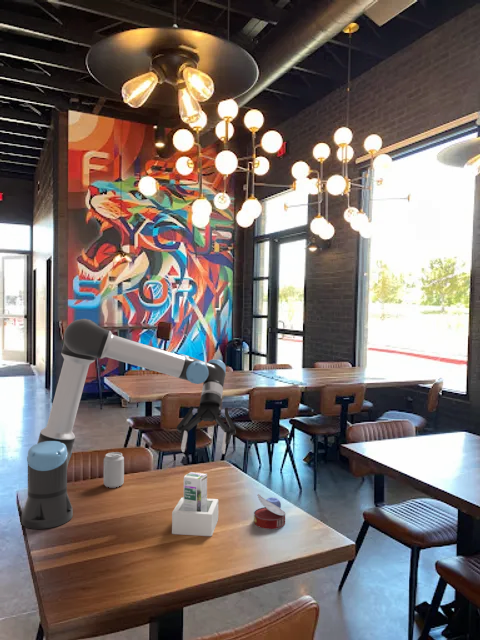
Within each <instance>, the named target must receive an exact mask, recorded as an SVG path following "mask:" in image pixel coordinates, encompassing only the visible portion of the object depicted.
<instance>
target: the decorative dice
mask: <svg viewBox="0 0 480 640" xmlns="http://www.w3.org/2000/svg"><path fill="white" fill-rule="evenodd" d="M266 500H267V501H269V502H271V503H272V504H274V505H276V506H277V507H279V508H280V509H282V508H281V507H282V503H281V501H280V500H279V498H277V497H275V496H274V497H268V498H266Z"/></svg>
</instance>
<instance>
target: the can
mask: <svg viewBox="0 0 480 640" xmlns="http://www.w3.org/2000/svg"><path fill="white" fill-rule="evenodd" d="M124 478H125V457H124V456H123V453H122V452H119V451H115V452H114V451H113V452H108V453H106V454H105V457H103V485H104V486H105V487H106V488H108V487H109V489H116V487H117V488H119V486H120V487H121V486H122V485H123V484H124V483H125V481H124V480H125V479H124Z"/></svg>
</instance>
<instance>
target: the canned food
mask: <svg viewBox="0 0 480 640" xmlns="http://www.w3.org/2000/svg"><path fill="white" fill-rule="evenodd" d="M257 498H258V500H259V502H260V503H261V505H262V506H263V507H261V508H257V509H255V511H254V512H253V514H254V515H253V516H254V517H253V518H254V519H253V521H254V525H256V526H257V527H258V528H261V529H265V530H277V529H280V528H283V527H284V526H285V525H286V512H285V511H284V510H283V509H282V508H279V507H277V506H276V505H274V504H272V503H271V502H269V501H267V498H266V499H265V498H264V497H263V496H261V494H259V493H258V494H257Z"/></svg>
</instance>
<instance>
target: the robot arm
mask: <svg viewBox="0 0 480 640" xmlns="http://www.w3.org/2000/svg"><path fill="white" fill-rule="evenodd" d="M61 348H62V349H61V353H60V355H61V356H62V358H63V363H62V367H61V370H60V374H59V378H58V381H57V382H58V383H57V385H56V389H55V394H54V397H53V401H52V404H51V409H50V413H49V417H48V420H47V424H46V427H44V428H42V429H40V433H39V436H38V440H37V443H36V444H33V445H32V446H30V448H29V449H28V452H27V456H26V461H27V498H26V502H25V505H24V508H23V511H22V513H21V525H22V526H23V527H25V528H28V529H33V530H34V529H35V530H44V529H51V528H55V527H59V526H62V525H64V524H66V523H68V522H69V521H71V520H72V518H73V511H74V509H73V505H72V504H71V501H70V498H69V497H70V496H69V495H68V465H69V462H70V460H71V457H72V454H73V447H74V443H75V439H76V435H75V433H74V432H73V429H74V426H75V422H76V417H77V414H78V410H79V406H80V402H81V399H82V394H83V392H84V391H83V390H84V386H85V383H86V379H87V376H88V371H89V367H90V365H91V364H93V363H94V362H95V361H96V358H97V359H101V360H102V359H104V358H109V359H111V360H112V359H113V360H116V361H118V362H122V363H126V364H129V365H132V366H136V367H140V368H144V369H147V370H150V371H154V372H158V373H161V374H164V375H168V376H171V377H175V378H178V379H181V380H184V381H187V382H190V383H191V384H195V385H200V384H203V385H202V389H201V394H200V395H201V396H200V400H199V401H200V402H199V406H198V408H194V406H190V407H189V410H188V412H187V413H186V414H185V416H184V417H183V418H182V419H181V421H180V422H179V423H178V424H177V426H176V430H177V432H178V433H180V436H179V439H180V442H181V444H180V445H181V446H180V449H181V452H182V453H185V451H186V446H187V441H188V432H190V431H191V430H192V429H193V428H194V427H196V425H198V424H199V423H201V422H211V423H212V422H215V423H216V424H218V426H219V427H220V429H221V430H222V431H223V438H222V444H221V453H222V455H225V453H226V448H227V445H229V444H230V441H231V436H235V435H236V434H237V430H236V426H235V425H234V422H233V420H232V418H231V416H230V412H229V408H228V407H225V408H224V409H223V408H222V409H221V407H222V399H223V391H224V384H225V380H226V371H227V369H226V368H227V367H226V363H224V362H223V360H221V359H210V360H208V361H207V362H206V361H203V360H200V359H198V358H195V357H192V356H189V355H186V354H183V353H179V354H177V353H174V352H172V351H171V352H170V351H167V350H163V349H161V348H159V347H153V346H151V345H148V344H143V343H141V342H137V341H134V340H132V339H128V338H124V337H121V336H118V335H115V334H113V332H112V331H111V330H110V329H106V328H102V327H101V326H99V324H97V323H96V322H95V321H94V320H92V319H89V318H80V319H79V318H78V319H76V320H74V321H72V322H70V323H69V324H68V325H67V327H66V328H65V330H64V332H63V346H62V347H61ZM221 414H222V415H223V416H224V417H225V419H226V422H227V424H228V426H229V427H228V426H227V425H226V423H225V422H224V421H223V419H221V417H220V416H221ZM194 415H195V417H193V416H194Z"/></svg>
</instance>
